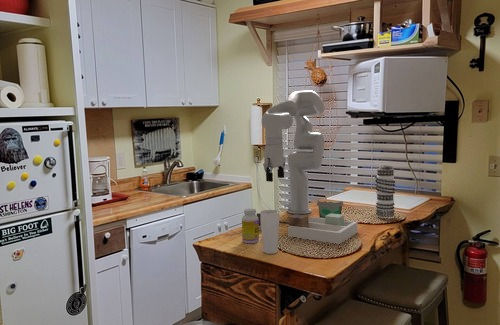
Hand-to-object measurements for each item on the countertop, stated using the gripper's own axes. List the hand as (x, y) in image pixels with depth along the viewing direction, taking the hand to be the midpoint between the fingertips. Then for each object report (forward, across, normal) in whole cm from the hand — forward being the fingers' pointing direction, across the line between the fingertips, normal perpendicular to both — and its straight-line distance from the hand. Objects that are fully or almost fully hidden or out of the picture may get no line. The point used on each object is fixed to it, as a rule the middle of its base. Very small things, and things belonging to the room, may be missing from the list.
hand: (275, 179), depth 188 cm
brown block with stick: (+19, +9, +7) cm, 22 cm away
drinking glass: (+20, +35, +19) cm, 44 cm away
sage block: (+20, -1, +28) cm, 34 cm away
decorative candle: (+23, -39, +37) cm, 59 cm away
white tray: (+21, +4, +25) cm, 33 cm away
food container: (+22, -16, +18) cm, 33 cm away
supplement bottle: (+20, +27, +4) cm, 34 cm away
